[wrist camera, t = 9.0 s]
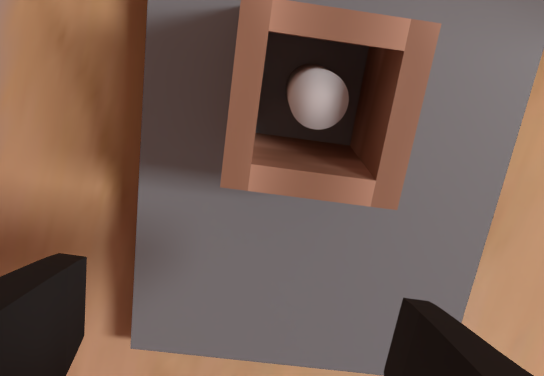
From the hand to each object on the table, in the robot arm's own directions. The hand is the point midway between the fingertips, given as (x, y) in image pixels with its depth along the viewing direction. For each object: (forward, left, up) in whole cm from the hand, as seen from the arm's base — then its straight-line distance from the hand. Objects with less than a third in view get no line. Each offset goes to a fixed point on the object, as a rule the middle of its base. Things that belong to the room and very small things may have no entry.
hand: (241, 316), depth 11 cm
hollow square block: (-2, -4, -8) cm, 9 cm away
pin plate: (-3, -1, -9) cm, 10 cm away
